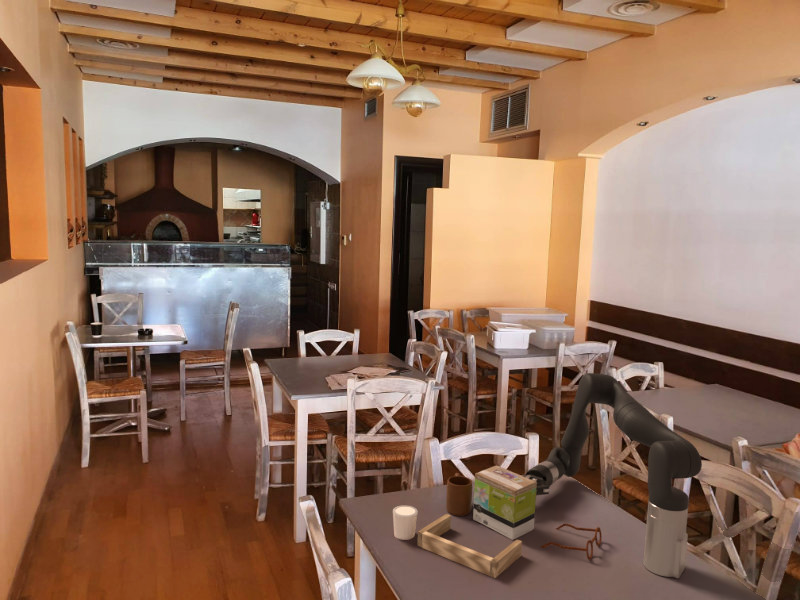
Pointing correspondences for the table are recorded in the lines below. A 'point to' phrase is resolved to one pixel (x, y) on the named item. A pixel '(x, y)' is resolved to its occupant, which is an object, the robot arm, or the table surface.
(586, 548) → the glasses
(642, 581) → the table surface
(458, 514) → the mug
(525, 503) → the tea box
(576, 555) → the table surface
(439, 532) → the corral
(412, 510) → the white cup
